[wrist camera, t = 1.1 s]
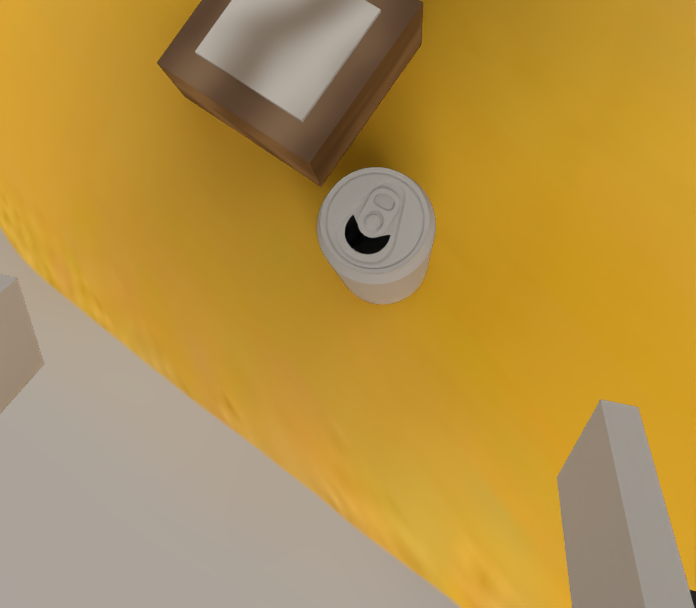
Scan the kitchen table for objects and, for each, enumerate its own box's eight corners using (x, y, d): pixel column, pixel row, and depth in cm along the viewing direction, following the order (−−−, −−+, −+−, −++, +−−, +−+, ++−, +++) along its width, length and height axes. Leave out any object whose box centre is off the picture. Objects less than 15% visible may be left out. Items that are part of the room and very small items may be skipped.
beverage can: (323, 278, 42) (289, 244, 30) (367, 202, 42) (351, 138, 30) (400, 321, 41) (397, 304, 29) (444, 243, 41) (459, 194, 29)
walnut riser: (421, 44, 43) (423, -1, 37) (321, 186, 42) (308, 161, 37) (278, -41, 45) (261, -95, 39) (181, 94, 44) (151, 58, 39)
